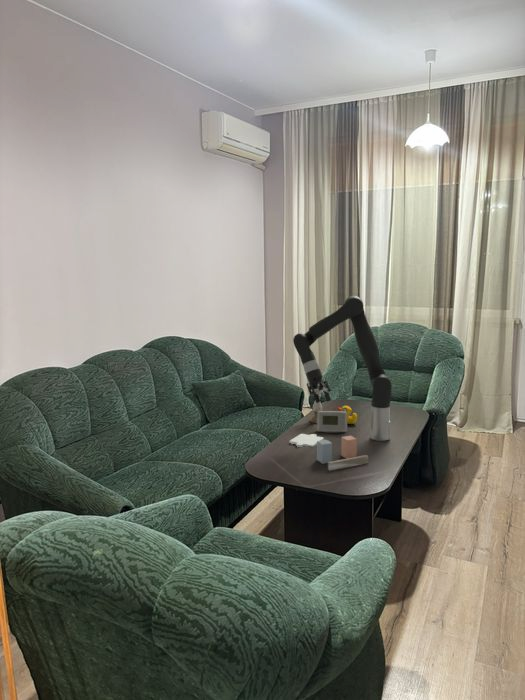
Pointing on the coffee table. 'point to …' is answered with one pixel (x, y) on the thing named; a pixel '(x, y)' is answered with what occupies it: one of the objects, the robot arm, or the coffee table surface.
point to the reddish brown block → (348, 447)
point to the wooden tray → (347, 462)
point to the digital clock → (332, 421)
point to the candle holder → (316, 410)
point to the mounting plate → (306, 440)
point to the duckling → (349, 418)
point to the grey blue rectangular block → (324, 451)
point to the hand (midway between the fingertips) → (323, 401)
